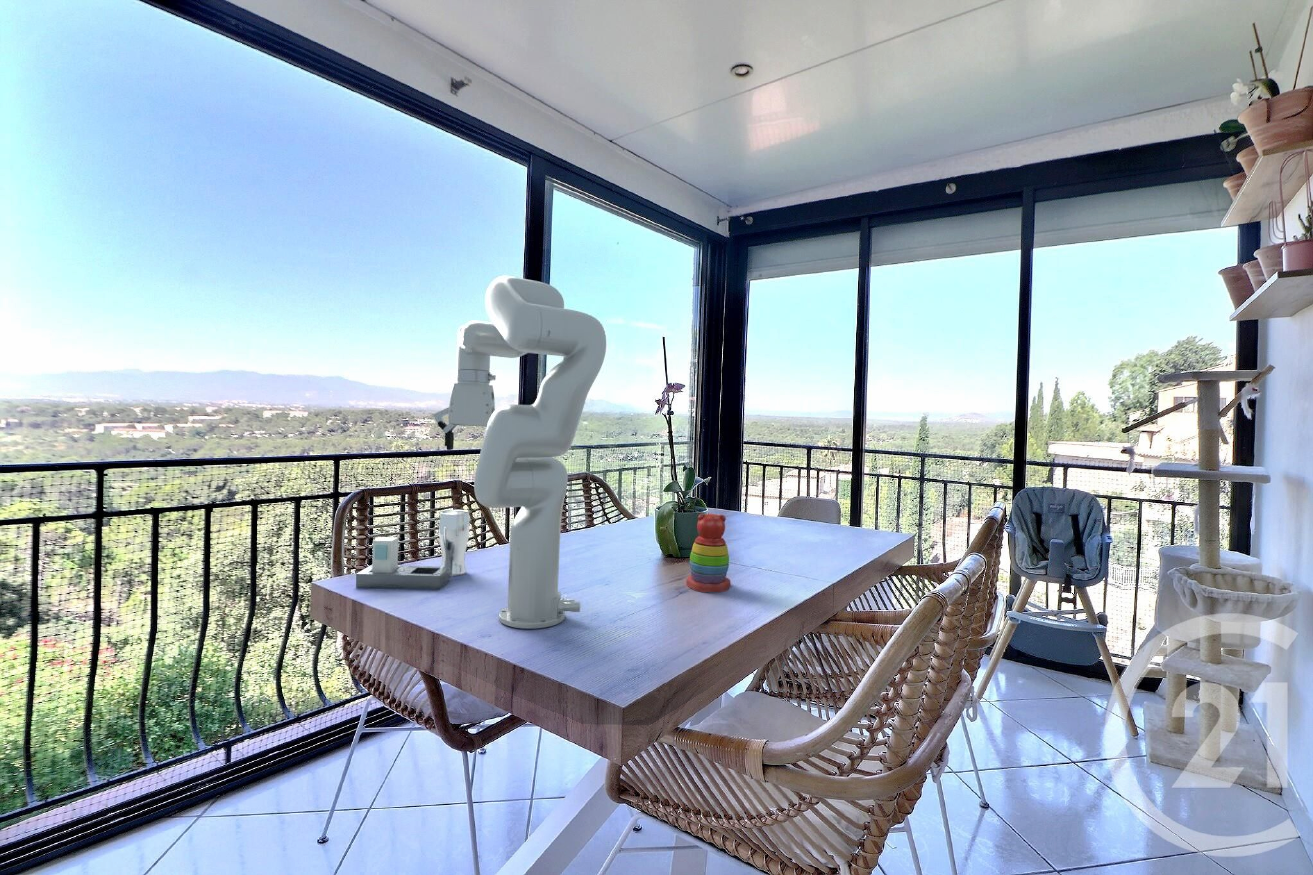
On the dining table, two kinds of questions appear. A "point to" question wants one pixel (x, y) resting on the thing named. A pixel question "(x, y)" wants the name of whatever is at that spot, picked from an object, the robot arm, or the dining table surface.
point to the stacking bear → (709, 556)
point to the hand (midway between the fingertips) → (470, 450)
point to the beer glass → (454, 540)
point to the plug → (385, 555)
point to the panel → (405, 578)
